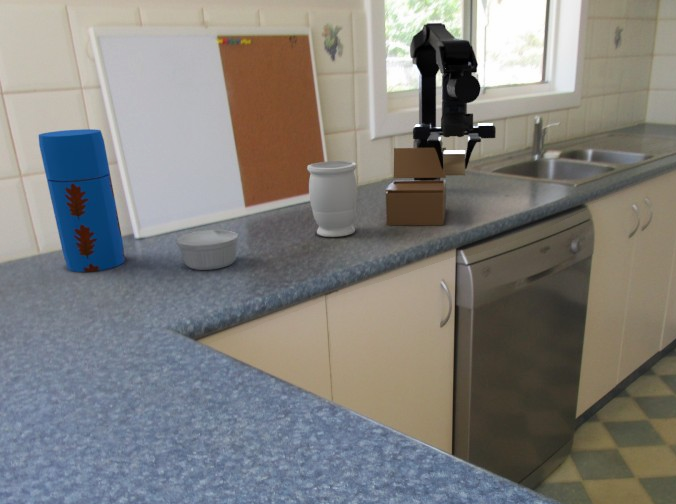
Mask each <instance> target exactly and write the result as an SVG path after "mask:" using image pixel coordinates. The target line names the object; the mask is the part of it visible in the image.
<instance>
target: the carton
mask: <svg viewBox="0 0 676 504" xmlns="http://www.w3.org/2000/svg"><path fill="white" fill-rule="evenodd" d="M446 180H447V179H444V180H443V179H440V180H416V181H414V180H393V181H392V183H389V184H388V186H387V187H386V189H385V207H386V208H385V210H386V211H385V212H386V226H444V222H445V218H446V212H447V181H446Z"/></svg>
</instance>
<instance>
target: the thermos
mask: <svg viewBox="0 0 676 504" xmlns="http://www.w3.org/2000/svg"><path fill="white" fill-rule="evenodd" d="M38 144H39V145H38V146H39V151H40V155H41V160H42V164H43V169H44V173H45V178H46V182H47V187H48V191H49V195H50V200H51V205H52V209H53V214H54V219H55V224H56V228H57V231H58V237H59V241H60V245H61V249H62V254H63V257H64V260H65V264H66V267H67V270H69V271H70V272H75V273H76V272H77V273H89V272H99V271H104V270H110V269H112V268H115V267H118V266H120V265H122V264H123V263H125V261H126V258H125V257H126V256H125V249H124V241H123V237H122V236H123V235H122V230H121V226H120V220H119V214H118V209H117V203H116V198H115V193H114V188H113V181H112V177H111V171H110V166H109V160H108V154H107V150H106V145H105V138H104V136H103V133H102V131H101V129H96V128H95V129H93V128H92V129H90V128H87V129H85V128H84V129H83V128H82V129H67V130H57V131H49V132H42V133H39V134H38Z"/></svg>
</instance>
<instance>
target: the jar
mask: <svg viewBox="0 0 676 504" xmlns="http://www.w3.org/2000/svg"><path fill="white" fill-rule="evenodd" d="M356 169H357V163H356V162H353V161H344V160H332V161H330V160H329V161H320V162H314V163H310V164H308V165H307V171H308V173H309V174H310V175H309V180H308V196H309V203H310V206H311V210H312V215H313V218H314V221H315V223H316V225H317V226H318V228H317V230H316V234H317V235H318V236H321V237H325V238H340V237H341V238H342V237H347V236H350V235H353V234H354V233H355V232H356V229H355V227H354V225H353V224H354V221H355V219H356V216H357V205H358V198H359V197H358V195H359V193H358V191H359V190H358V183H357V177H356V174H355V171H356Z"/></svg>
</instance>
